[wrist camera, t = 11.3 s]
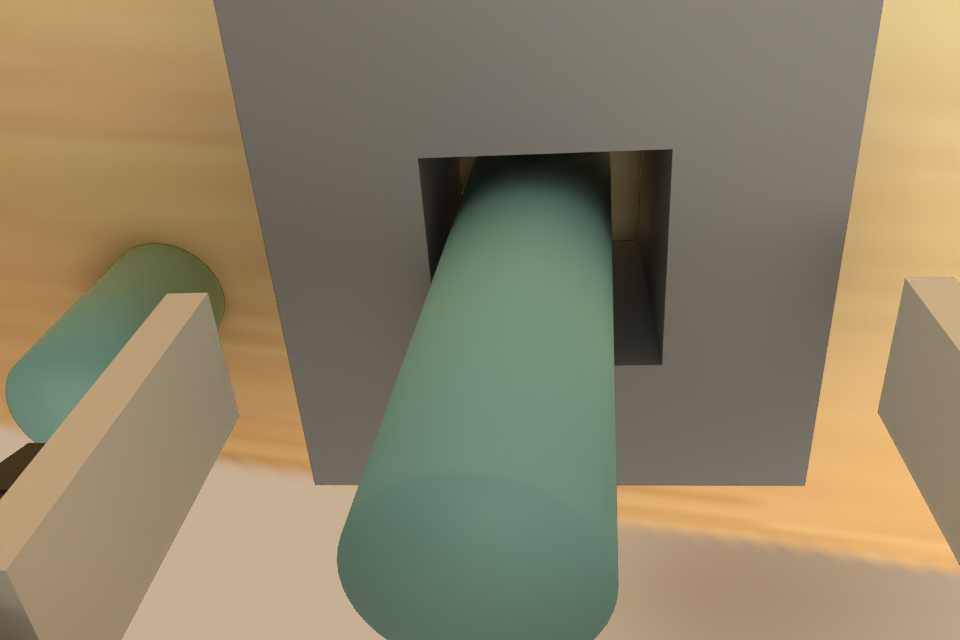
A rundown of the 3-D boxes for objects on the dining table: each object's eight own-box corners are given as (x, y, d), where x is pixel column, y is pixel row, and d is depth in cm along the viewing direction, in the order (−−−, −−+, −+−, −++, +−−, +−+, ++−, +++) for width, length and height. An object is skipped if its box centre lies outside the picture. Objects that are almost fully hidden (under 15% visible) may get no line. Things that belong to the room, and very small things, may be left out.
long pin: (483, 223, 25) (357, 664, 12) (474, 99, 23) (316, 466, 10) (609, 222, 24) (616, 680, 12) (610, 95, 23) (620, 475, 10)
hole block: (364, 347, 27) (314, 484, 22) (300, -63, 21) (209, -18, 16) (752, 342, 26) (804, 485, 21) (800, -94, 20) (892, -58, 15)
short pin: (128, 345, 28) (32, 465, 23) (96, 244, 26) (-16, 350, 21) (235, 343, 28) (162, 465, 23) (210, 242, 26) (125, 348, 21)
